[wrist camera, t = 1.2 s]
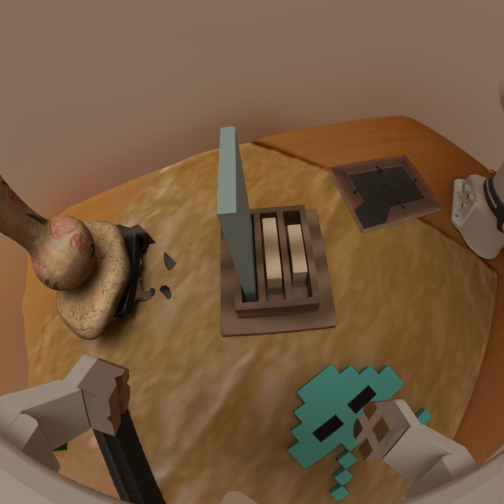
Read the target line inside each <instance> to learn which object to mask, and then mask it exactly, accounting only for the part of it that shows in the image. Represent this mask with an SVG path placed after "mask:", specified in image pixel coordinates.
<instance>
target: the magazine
mask: <svg viewBox="0 0 504 504" xmlns="http://www.w3.org/2000/svg"><path fill="white" fill-rule="evenodd" d="M120 419H121V423H120V425H119V427H118V430H117V432H116V434H115V436H113V435H110V434H107V433H104V432H101V431H99V430H96V429H93V428H92V429H93V432H94V434H95V437H96V439H97V442H98V445H99V447H100V450H101V452H102V454H103V457H104V460H105V462H106V465H107V467H108V470H109V473H110V475H111V478H112V480H113V483H114V485H115V487H116V490H117V492H118V494H119V496H120V499H121V500H123V501H126V502H129V503H133V504H164V503H163V501H162V498H161V496H160V493H159V491H158V488H157V486H156V483H155V481H154V478H153V475H152V473H151V470H150V468H149V465H148V463H147V460H146V458H145V455H144V452H143V450H142V447H141V445H140V442H139V440H138V437H137V434H136V432H135V429H134V427H133V424H132V422H131V419H130V417H129V414H128V412H127V409H126V411H125V413H123V414H121V415H120Z"/></svg>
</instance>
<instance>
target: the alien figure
mask: <svg viewBox="0 0 504 504" xmlns="http://www.w3.org/2000/svg"><path fill="white" fill-rule="evenodd" d="M403 384H404V383H403V381H402V380H401V379H400V378H399V377H398V376H397V374H396V373H395V372H394V371H393V370H392V369H391V367H390V366H389V365H386V366H384V367H383V368H382V369H381V370H380V371H379V372H378V373H377V372H376V371H375V370H374V369H373V368H372V367H371V365H368V366H366V367H365V368H364V369H363V370H362V371H361V372H360V373H358V372H357V371H356V370H355V369H354V368H353V366H352V365H349V366H347V367H346V368H345V369H344V370H343V371H342V372H341V373H339V372H338V371H337V370H336V369H335V368H334V367H333V366H332V364H330V365H328V366H327V367H326V368H325V369H324V370H322V371H321V372H320V373H319V374H318V375H316V376H315V377H314V378H313V379H312V380H310V381H309V382H308V383H307V384H305V385H304V386H303V387H302V388H300V389H299V390H298V391H296V393H297V394H298V395H299V396H300V398H301V399H302V400H303V401H304V403H303V404H302V405H301V406H299V407H298V408H297V409H295V410H294V411H293V412H294V413H295V414H296V416H297V417H298V418H299V419H300V420H301V421H302V422H300V423H299V424H297V425H296V426H295V427H293V428H292V429H291V430H290V431H291V433H292V434H293V435H294V436H295V437H296V438H297V439H298V441H296V442H295V443H293V444H292V445H290V446H289V447H288V448H287V450H288V451H289V453H290V454H291V455H292V456H293V457H294V458H295V459H296V460H297V461H298V462H299V463H300V464H301V465H302V466H303V467H304V469H306V468H308V467H309V466H311V465H312V464H314V463H315V462H316V461H318V460H319V459H321V458H322V457H323V456H325V455H326V454H327V453H329V452H330V451H331V450H333V449H334V448H335V447H337V446H338V445H339V444H340V443H341V444H342V445H343V446H344V447H345V448H346V449H347V450H345V451H344V452H343V453H342V454H340V455H339V456H338V457H337V458H336V459H337V460H338V462H339V463H340V464H341V465H342V466H343V467H342V468H341V469H339V470H338V471H337V472H335V473H334V474H333V477H334V478H335V479H336V480H337V481H338V482H339V484H337V485H336V486H334V487H333V488H331V489H330V490H329V492H330V494H331V495H332V496H333V497H334V498H335V499H336V500H337V501H340V500H341V499H342V498H344V497H345V496H347V495H348V494H349V491H348V490H347V489H346V488H345V487H344V486H343V485H344V484H345V483H347V482H348V481H349V480H351V479H352V478H353V476H352V474H351V473H350V472H349V471H348V470H347V468H348V467H350V466H351V465H352V464H353V463H355V462H356V461H357V459H356V458H355V457H354V456H353V455H352V454H351V453H350V451H351V450H352V449H353V448H355V447H356V446H357V445H358V444H359V442H358V441H356V440H355V438H354V435H353V426H354V422H355V421H356V419H357V417H359V416H360V415H361V414H363V413H364V411H363V408H364V407H365V405H366V404H367V403H368V402H369V401H384V400H389V399H390V398H391V397H392V396H393V395H394V394H395V393H396V392H397V391H398V390H399V389H400V387H401V386H402V385H403ZM415 416H416V418H417V419H418V420H419V422H420V423H421V425H426V423H427V422H428V421H429V420H430V419H431V418H432V416H431V415H430V414H429V412H428V411H427V410H426V409H420V410H419V411H418V412H417V414H416V415H415Z"/></svg>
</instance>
